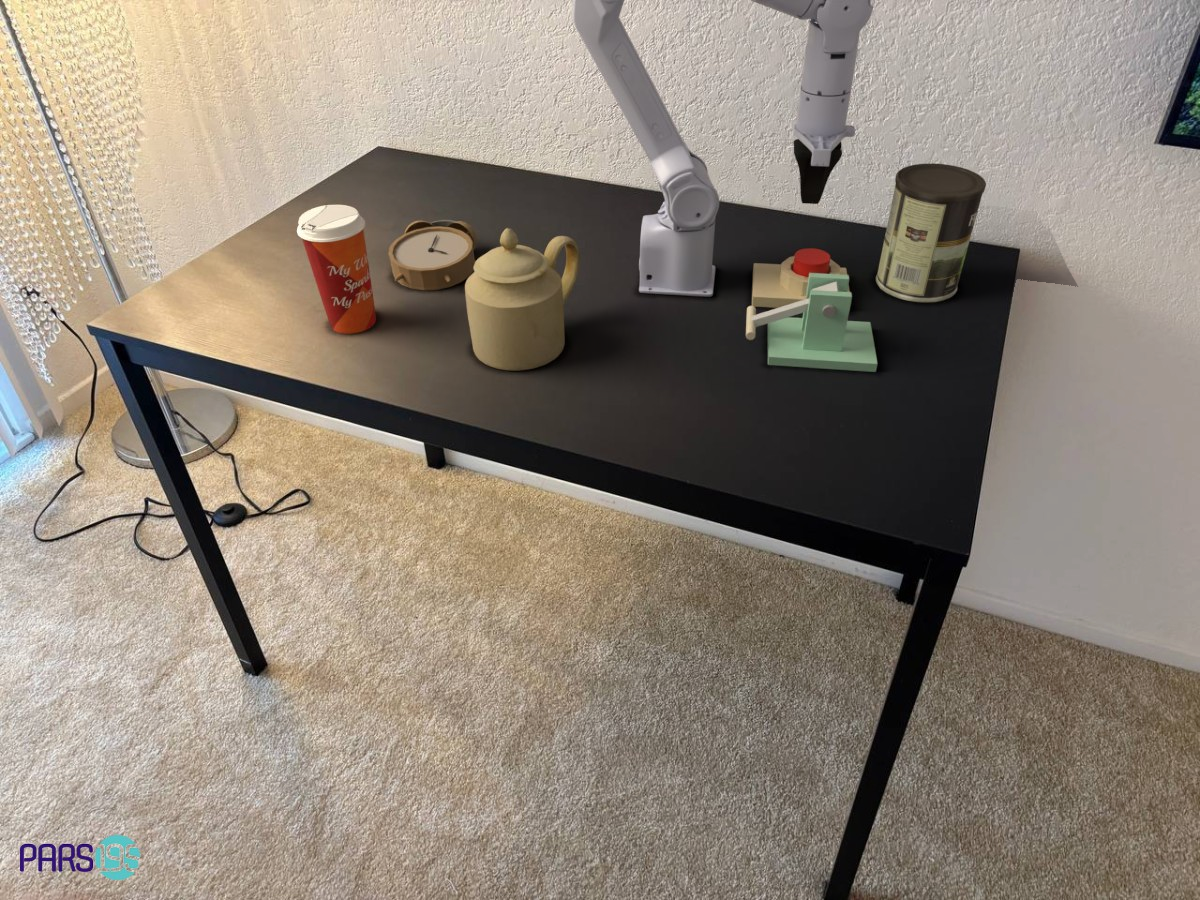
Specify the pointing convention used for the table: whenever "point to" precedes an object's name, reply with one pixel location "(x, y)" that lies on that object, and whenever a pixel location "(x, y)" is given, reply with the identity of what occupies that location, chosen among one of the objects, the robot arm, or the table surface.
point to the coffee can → (929, 231)
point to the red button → (811, 262)
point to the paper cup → (340, 265)
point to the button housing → (782, 283)
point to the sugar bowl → (520, 303)
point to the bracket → (823, 332)
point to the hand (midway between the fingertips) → (809, 201)
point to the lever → (780, 312)
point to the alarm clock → (433, 254)
